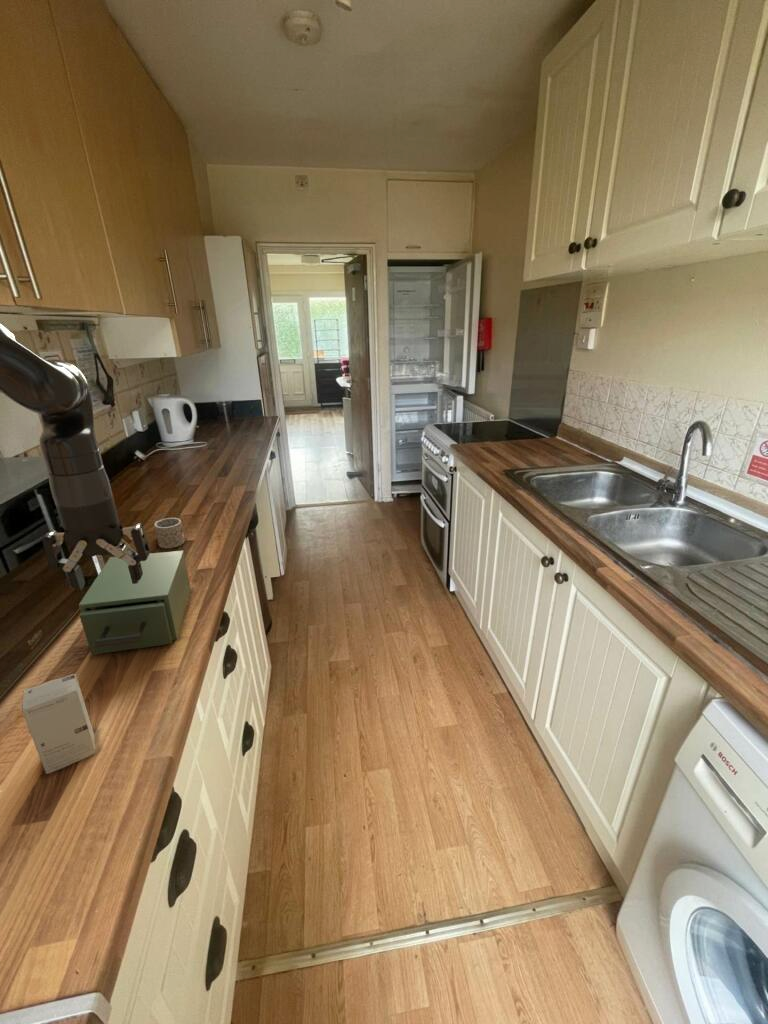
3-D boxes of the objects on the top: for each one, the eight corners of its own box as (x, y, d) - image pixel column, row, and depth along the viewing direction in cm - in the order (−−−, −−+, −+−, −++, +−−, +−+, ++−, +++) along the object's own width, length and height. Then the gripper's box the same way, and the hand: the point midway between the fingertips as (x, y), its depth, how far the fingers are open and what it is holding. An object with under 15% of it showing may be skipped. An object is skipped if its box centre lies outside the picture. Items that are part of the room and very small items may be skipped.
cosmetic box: (46, 777, 59) (18, 713, 54) (46, 752, 62) (19, 690, 57) (98, 753, 62) (76, 691, 57) (96, 731, 65) (75, 671, 61)
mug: (189, 542, 122) (185, 521, 119) (167, 551, 117) (163, 530, 114) (169, 533, 127) (165, 513, 124) (147, 542, 122) (142, 520, 119)
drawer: (166, 661, 78) (156, 622, 74) (81, 674, 75) (67, 633, 71) (185, 595, 97) (178, 561, 93) (118, 603, 94) (109, 568, 90)
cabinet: (177, 640, 85) (167, 594, 80) (93, 652, 81) (78, 605, 77) (191, 590, 100) (183, 550, 96) (121, 598, 97) (110, 557, 93)
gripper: (140, 485, 71) (159, 568, 78) (42, 491, 68) (70, 577, 75) (128, 501, 65) (149, 591, 71) (18, 509, 61) (51, 602, 68)
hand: (108, 584), depth 73 cm, fingers open, 8 cm apart
